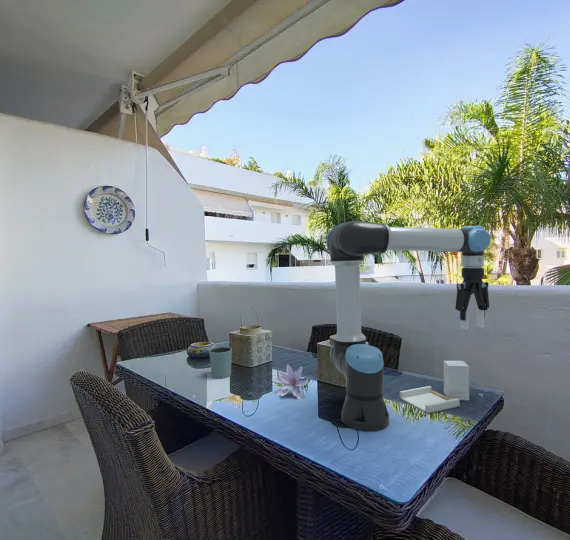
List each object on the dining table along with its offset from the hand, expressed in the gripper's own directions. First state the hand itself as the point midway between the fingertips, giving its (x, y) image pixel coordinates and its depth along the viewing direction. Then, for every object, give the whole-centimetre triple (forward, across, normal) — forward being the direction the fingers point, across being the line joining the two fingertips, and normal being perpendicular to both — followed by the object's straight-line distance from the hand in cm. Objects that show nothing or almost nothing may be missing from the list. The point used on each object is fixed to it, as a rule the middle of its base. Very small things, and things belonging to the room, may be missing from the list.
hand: (472, 327), depth 139 cm
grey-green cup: (+25, -84, +60) cm, 106 cm away
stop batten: (+25, -14, 0) cm, 29 cm away
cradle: (+25, -21, 0) cm, 33 cm away
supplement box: (+25, -8, 0) cm, 27 cm away
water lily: (+25, -64, +27) cm, 74 cm away
